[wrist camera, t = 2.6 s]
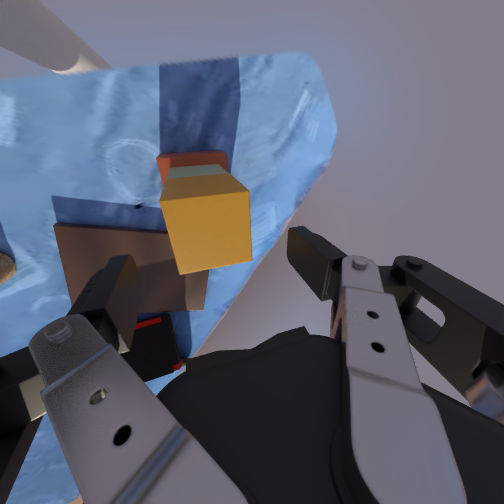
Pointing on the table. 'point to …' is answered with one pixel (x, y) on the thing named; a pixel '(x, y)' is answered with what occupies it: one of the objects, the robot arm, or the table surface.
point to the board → (145, 256)
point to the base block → (190, 160)
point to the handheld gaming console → (154, 349)
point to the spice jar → (6, 268)
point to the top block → (207, 221)
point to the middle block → (195, 171)
